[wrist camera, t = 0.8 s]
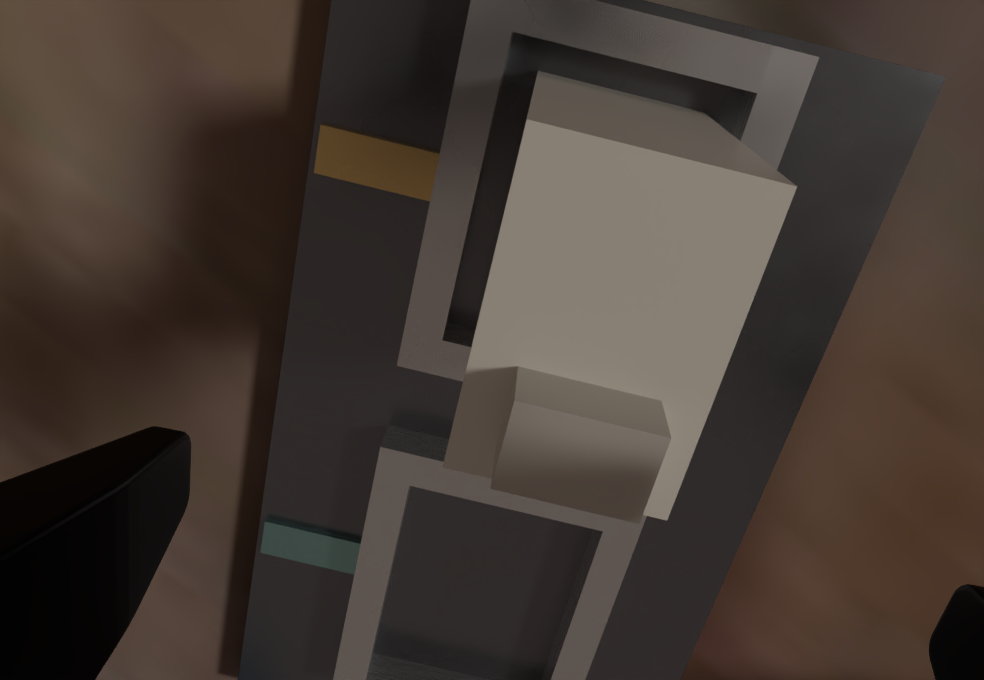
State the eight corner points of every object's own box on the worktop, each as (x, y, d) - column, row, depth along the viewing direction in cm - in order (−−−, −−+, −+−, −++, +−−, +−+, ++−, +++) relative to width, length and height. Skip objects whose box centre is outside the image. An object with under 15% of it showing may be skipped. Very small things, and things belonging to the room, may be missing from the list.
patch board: (927, 73, 19) (970, 82, 17) (630, 760, 29) (636, 818, 27) (351, -73, 19) (327, -81, 17) (246, 672, 28) (222, 723, 26)
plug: (703, 112, 19) (823, 206, 10) (628, 339, 21) (676, 566, 13) (537, 70, 19) (523, 132, 10) (481, 303, 21) (432, 508, 13)
